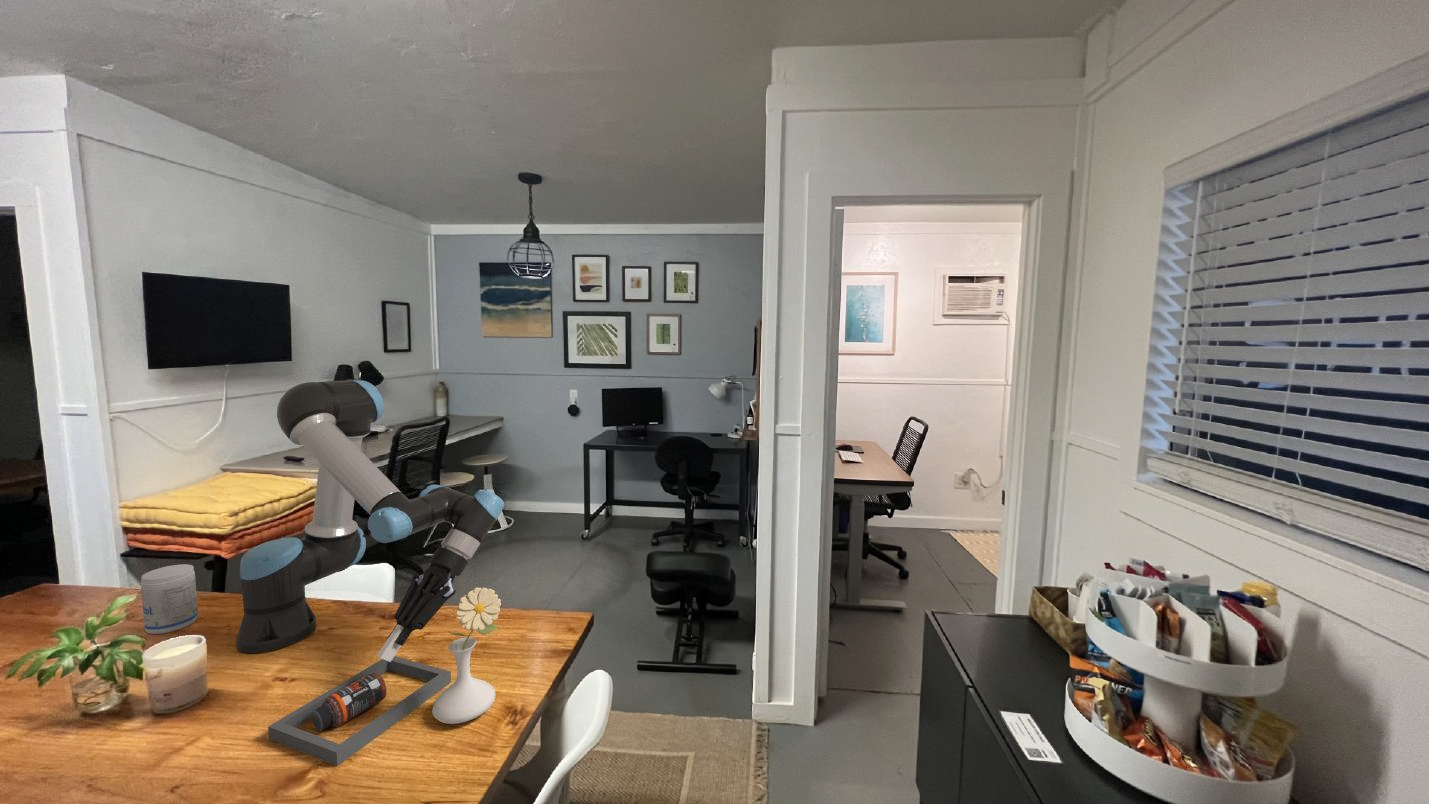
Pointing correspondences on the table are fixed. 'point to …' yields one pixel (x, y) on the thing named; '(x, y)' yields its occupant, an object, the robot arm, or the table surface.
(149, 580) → the supplement tub
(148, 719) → the table surface
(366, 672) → the corral
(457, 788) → the table surface
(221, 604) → the table surface
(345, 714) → the supplement bottle
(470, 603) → the flower in vase
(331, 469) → the robot arm
